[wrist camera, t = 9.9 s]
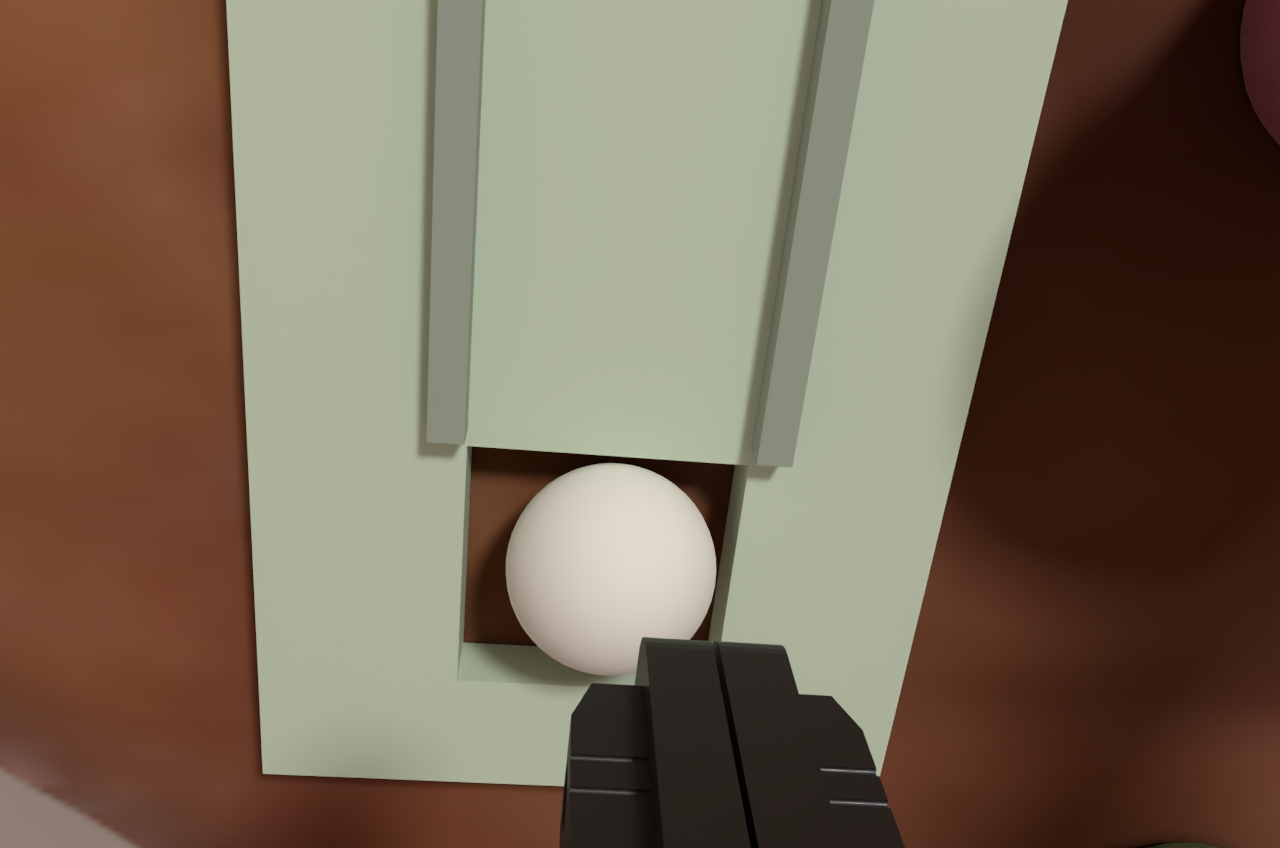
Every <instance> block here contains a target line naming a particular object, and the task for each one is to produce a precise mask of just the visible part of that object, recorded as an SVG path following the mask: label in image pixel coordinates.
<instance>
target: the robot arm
mask: <svg viewBox="0 0 1280 848" xmlns="http://www.w3.org/2000/svg"><path fill="white" fill-rule="evenodd" d="M887 803H888V800H887V797H886V794H885V791H884V788H883V786H882V783H881V780H880V777H879V776H876V766H875V763H874V760H873V758H872V755H871V752H870V749H869V746H868V744H867V741H866V738H865V735H864V732H863V730H862V729H861V728H860V727H859V725H858V724H857V723H856V722H855V721H854V720H853V719H852V718H851V717H850V716H849V715H848V713H847V712H846V711H845V710H844V709H843V708H842V707H841V706H840V705H839V704H838V703H837V701H836V700H835V699H834V698H833V697H832V696H825V695H806V694H799V693H798V689H797V686H796V682H795V679H794V675H793V672H792V669H791V665H790V662H789V658H788V655H787V652H786V649H785V648H784V646H783V645H773V644H756V643H739V642H722V641H715V642H713V644H712V643H711V641H701V640H684V639H667V638H650V637H643V638H642V640H641V643H640V648H639V655H638V663H637V670H636V678H635V685H619V684H601V683H591V685H590V687H589V688H588V690H587V691H586V693H585V694H584V696H583V697H582V699H581V701H580V702H579V704H578V705H577V707H576V708H575V710H574V711H573V713H572V714H571V721H570V732H569V742H568V752H567V762H566V772H565V782H564V792H563V802H562V813H561V823H560V848H905V847H904V844H903V841H902V839H901V836H900V833H899V830H898V827H897V825H896V822H895V819H894V816H893V813H892V811H891V809H888V805H887Z"/></svg>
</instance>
